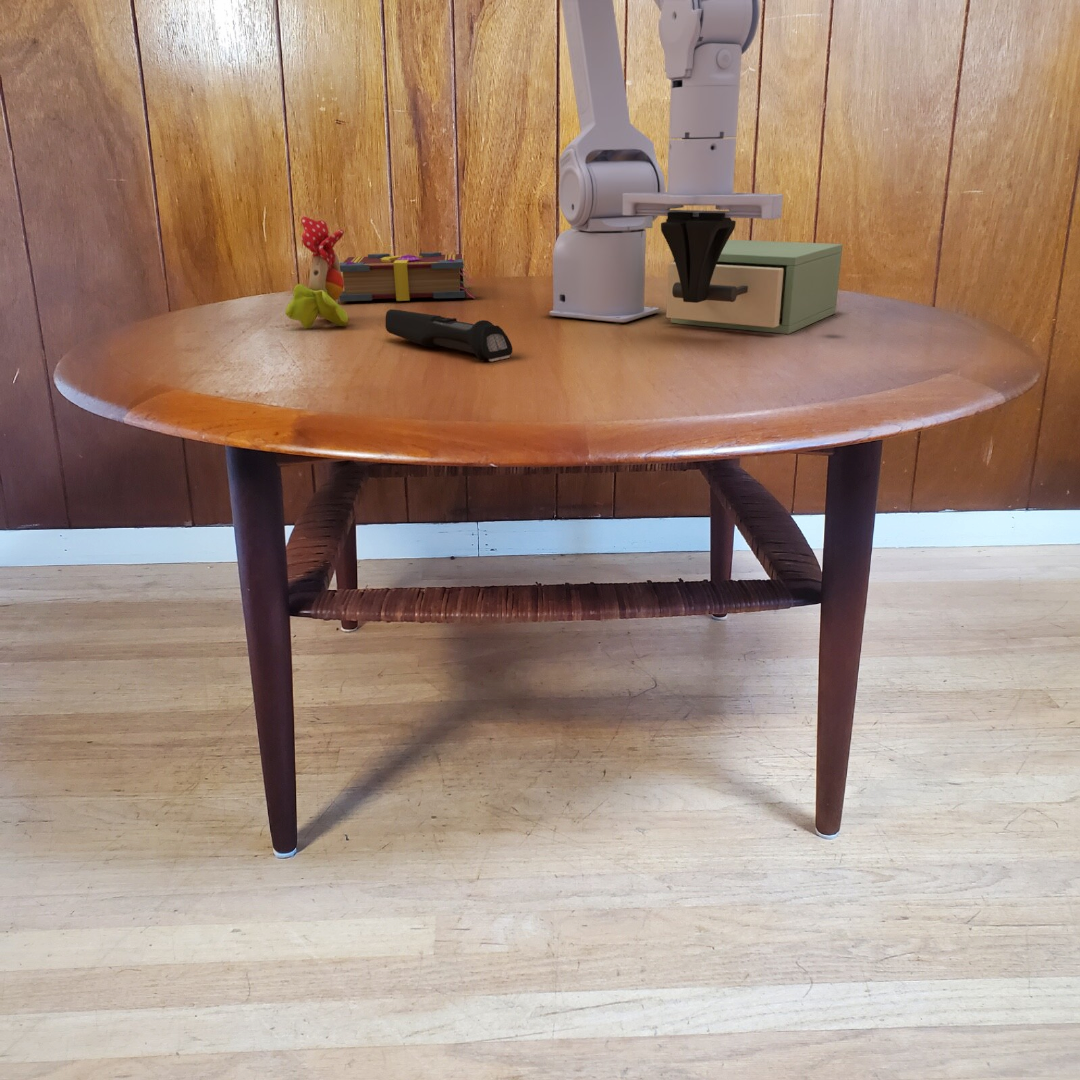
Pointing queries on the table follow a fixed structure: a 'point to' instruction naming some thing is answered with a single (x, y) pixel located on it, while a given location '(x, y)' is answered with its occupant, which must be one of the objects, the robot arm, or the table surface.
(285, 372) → the table surface
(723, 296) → the drawer
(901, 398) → the table surface
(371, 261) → the decorative book
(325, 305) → the bird rattle
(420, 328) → the electric trimmer
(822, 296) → the cabinet
